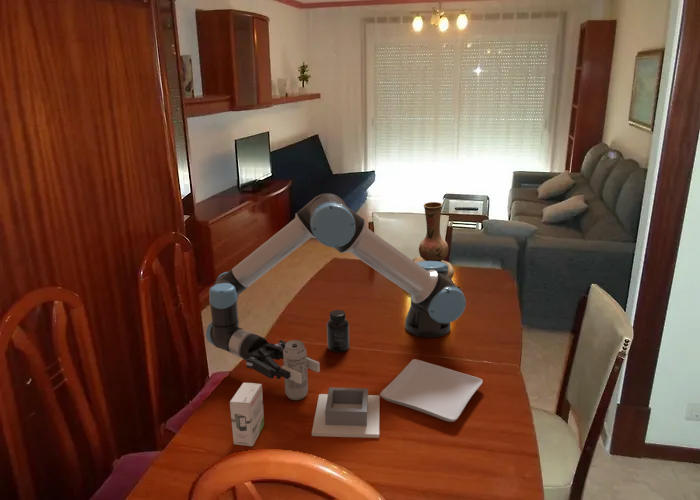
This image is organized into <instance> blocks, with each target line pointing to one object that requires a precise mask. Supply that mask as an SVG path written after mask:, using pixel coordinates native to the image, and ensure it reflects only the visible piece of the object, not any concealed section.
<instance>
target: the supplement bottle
mask: <svg viewBox="0 0 700 500" xmlns="http://www.w3.org/2000/svg"><path fill="white" fill-rule="evenodd" d="M349 323H350V322H349V321H348V320H347V319H346V312H345V311H344V310H341V309H334V310H332V311H330V313H329V319H328V321H327V322H326V336H327V337H326V339H327V340H326V341H327V349H328V351H330V352H332V353H344V352H346V351H347V350H349V348H350V324H349Z"/></svg>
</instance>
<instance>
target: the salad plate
mask: <svg viewBox="0 0 700 500" xmlns="http://www.w3.org/2000/svg"><path fill="white" fill-rule="evenodd" d="M483 382H484V381H483V379H482V378H480V377H477V376H473V375H471V374H468V373H463V372H460V371H457V370H453V369H451V368H447V367H445V366H441V365H438V364H434V363H430V362H427V361H424V360H420V359H417V358H415V359H414V358H413V359H412V360H411V361H410V362H409V363H408V364H407V365H406V366H405V367H404V368H403V369H402V371H401V372H399V374H397V376H396V377H394V379H393V380H391V382H390V383H389V384H388V385H386V386H385V388H383V389H382V390H381V392H380V393H379V395H380V397H381V398H382V399H384V400H385V401H387V402H390V403H393V404H395V405H396V404H397V405H399V406H403V407H406V408H409V409H411V410H414V411H418V412H421V413H423V414H425V415H429V416H432V417H434V418H437V419H440V420H442V421H446V422H449V423H453V422H455V421H457V420H458V419H459V418H460V416H461V414H462V413H463V411H464V410H465V408H466V406H467V404H468V403H469V401H470V400H471V399H472V398H473V395H475V393H476V392H477V391H478V389H479V388H480V387H481V386H482V384H483Z"/></svg>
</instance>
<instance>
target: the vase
mask: <svg viewBox="0 0 700 500" xmlns="http://www.w3.org/2000/svg"><path fill="white" fill-rule="evenodd" d="M423 208H424V214H425V222H426V234H425V237H424V238H423V239H422V240H421V241H420V243H419V245H418V252H419V253H418V254H419V256H417V257H415V258H413V259H412V260H413V261H414V262H416V263H418V262H422V261H438V262H443V263H446V264H447V265H448V270H449V271H448V277H449V278H450V279H451V280H453V276H454V273H455V271H454V267H453V265H452V264H451V262H448V261H446V260H445V258H447V256H448V253H449V245H448V243H447V241H446V240H445V239H444V238H443V237H442V235H441V214H442V208H443V203H442V202H438V201H429V202H425V203H424V204H423Z"/></svg>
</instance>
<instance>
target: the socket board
mask: <svg viewBox="0 0 700 500" xmlns="http://www.w3.org/2000/svg"><path fill="white" fill-rule="evenodd" d="M380 397H381V396H380V394H379V395H374V394H373V395H372V394H369V389H368V388H367V387H366V388H364V387H363V388H361V387H328V392H327V393H319V394H318V399H317V404H316V409H315V414H314V418H313V423H312V424H313V425H312V429H311V437H334V438H336V437H337V438H364V439H366V438H369V439H379V438H380Z"/></svg>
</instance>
